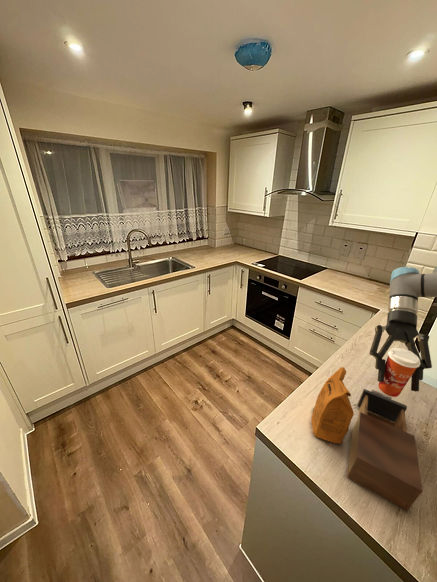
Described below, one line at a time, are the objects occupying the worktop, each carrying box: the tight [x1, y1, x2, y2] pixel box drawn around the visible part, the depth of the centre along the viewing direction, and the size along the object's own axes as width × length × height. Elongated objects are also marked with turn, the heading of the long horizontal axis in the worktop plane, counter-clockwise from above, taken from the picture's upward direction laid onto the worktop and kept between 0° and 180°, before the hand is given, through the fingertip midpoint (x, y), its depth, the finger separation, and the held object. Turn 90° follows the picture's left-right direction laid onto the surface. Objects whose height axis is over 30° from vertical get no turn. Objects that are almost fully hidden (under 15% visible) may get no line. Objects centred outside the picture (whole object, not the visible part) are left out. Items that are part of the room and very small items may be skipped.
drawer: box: [356, 388, 408, 433], centre depth 77 cm, size 20×12×8 cm, turn 148°
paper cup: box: [378, 347, 420, 398], centre depth 71 cm, size 8×8×14 cm
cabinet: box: [346, 412, 423, 512], centre depth 65 cm, size 16×14×10 cm
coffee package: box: [311, 366, 355, 444], centre depth 74 cm, size 10×12×22 cm
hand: (397, 386), depth 69 cm, fingers closed on paper cup, 8 cm apart
